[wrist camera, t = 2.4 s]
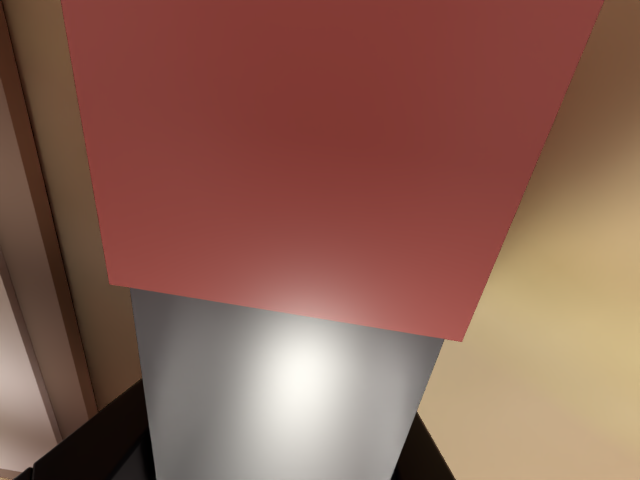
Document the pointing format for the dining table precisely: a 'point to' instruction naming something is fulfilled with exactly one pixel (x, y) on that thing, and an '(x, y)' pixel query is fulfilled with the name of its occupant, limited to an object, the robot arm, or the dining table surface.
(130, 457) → the robot arm
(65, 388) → the picture frame
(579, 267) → the dining table surface
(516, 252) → the dining table surface
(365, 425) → the marker
